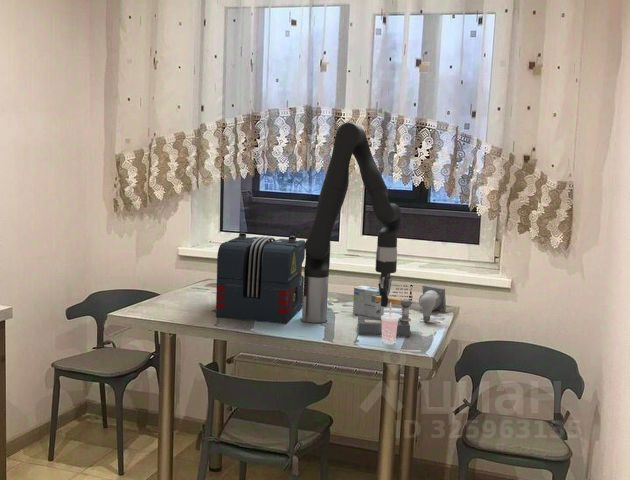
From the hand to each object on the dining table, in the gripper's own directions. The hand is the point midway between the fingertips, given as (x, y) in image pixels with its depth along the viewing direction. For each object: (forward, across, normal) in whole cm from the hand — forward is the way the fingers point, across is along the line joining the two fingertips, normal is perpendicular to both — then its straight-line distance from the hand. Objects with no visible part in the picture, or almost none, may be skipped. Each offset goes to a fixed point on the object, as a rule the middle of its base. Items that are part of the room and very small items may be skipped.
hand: (384, 306), depth 244 cm
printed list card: (+8, -40, +5) cm, 41 cm away
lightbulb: (+9, -19, +13) cm, 25 cm away
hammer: (0, -3, +2) cm, 4 cm away
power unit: (+8, -5, -50) cm, 51 cm away
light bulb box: (+9, -21, -10) cm, 25 cm away
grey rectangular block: (+9, +2, 0) cm, 9 cm away
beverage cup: (+10, +15, +5) cm, 18 cm away
